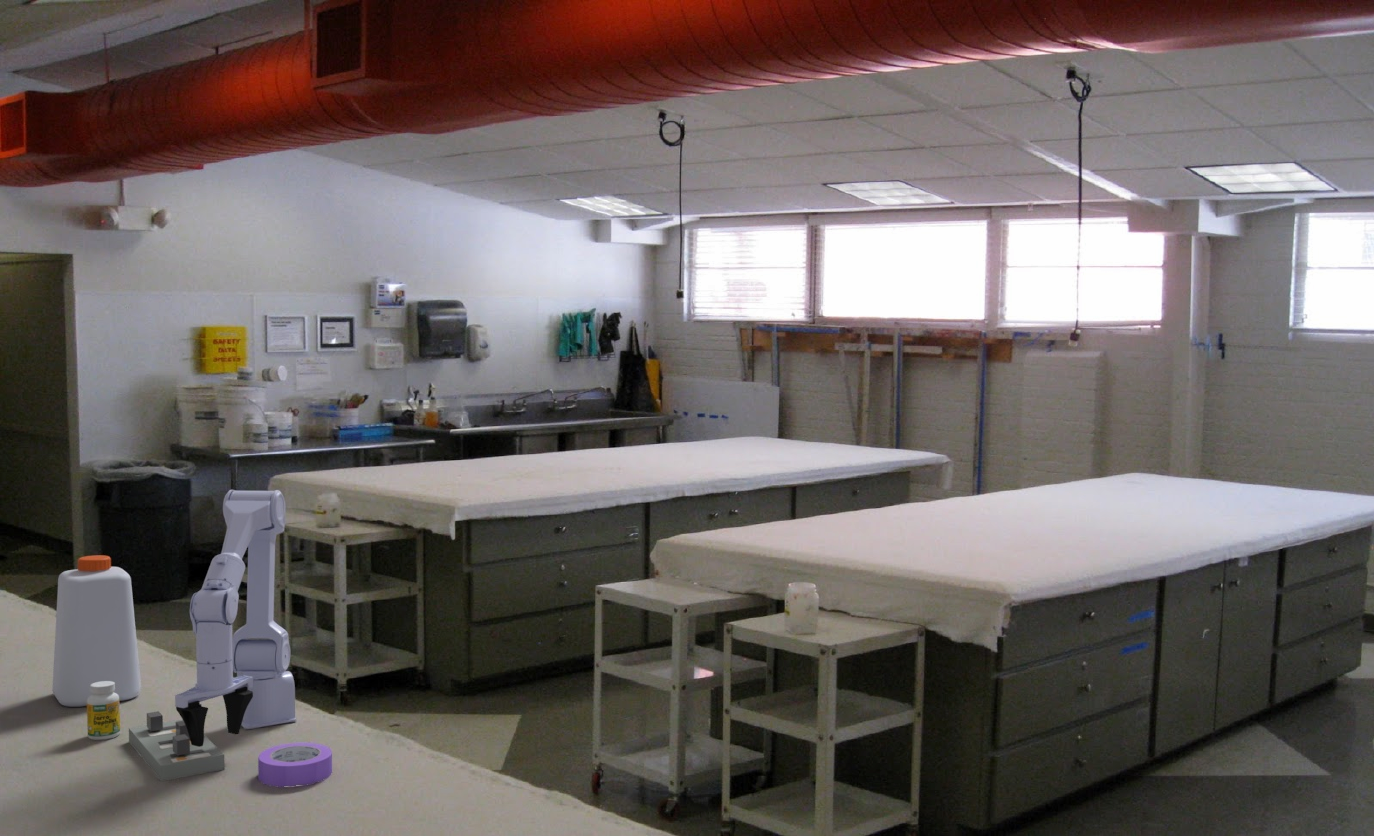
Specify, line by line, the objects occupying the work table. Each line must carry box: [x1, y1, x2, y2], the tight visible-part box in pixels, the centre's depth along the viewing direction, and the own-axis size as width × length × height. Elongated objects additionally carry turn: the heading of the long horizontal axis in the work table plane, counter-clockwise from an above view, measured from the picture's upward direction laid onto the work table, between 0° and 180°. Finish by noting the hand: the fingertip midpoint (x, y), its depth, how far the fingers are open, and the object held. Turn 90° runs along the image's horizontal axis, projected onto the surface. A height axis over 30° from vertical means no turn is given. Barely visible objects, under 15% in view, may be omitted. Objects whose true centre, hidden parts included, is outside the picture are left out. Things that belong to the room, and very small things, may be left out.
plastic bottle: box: [52, 554, 142, 708], centre depth 253 cm, size 15×15×28 cm
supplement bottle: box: [86, 681, 121, 741], centre depth 229 cm, size 5×5×10 cm
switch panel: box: [128, 718, 226, 782], centre depth 219 cm, size 10×24×3 cm, turn 35°
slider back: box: [146, 710, 164, 731], centre depth 224 cm, size 2×3×2 cm, turn 35°
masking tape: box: [257, 742, 333, 788], centre depth 210 cm, size 12×12×4 cm
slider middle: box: [176, 721, 190, 739], centre depth 220 cm, size 2×3×2 cm, turn 35°
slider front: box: [173, 734, 190, 756], centre depth 212 cm, size 2×3×2 cm, turn 35°
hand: (215, 739), depth 215 cm, fingers open, 7 cm apart
